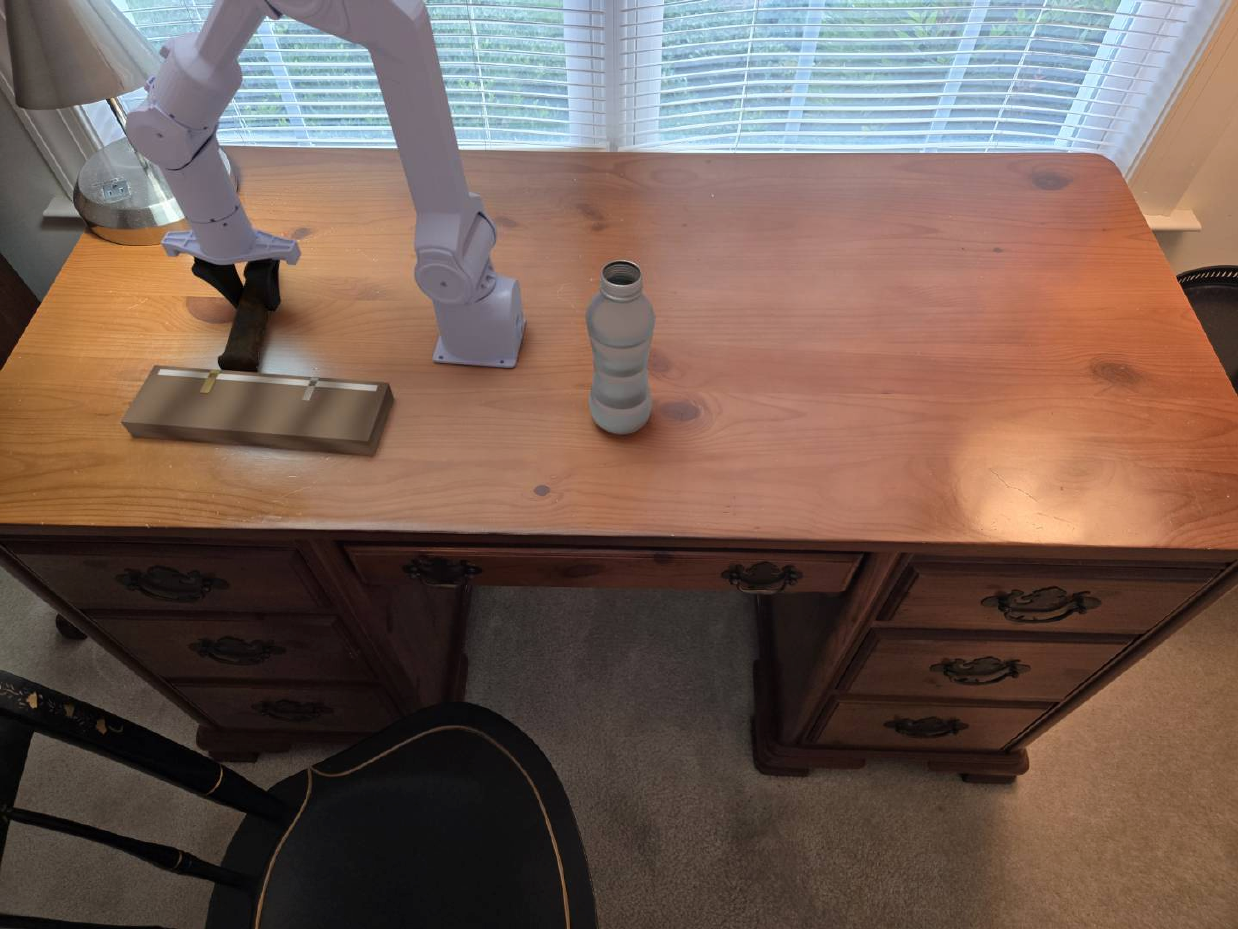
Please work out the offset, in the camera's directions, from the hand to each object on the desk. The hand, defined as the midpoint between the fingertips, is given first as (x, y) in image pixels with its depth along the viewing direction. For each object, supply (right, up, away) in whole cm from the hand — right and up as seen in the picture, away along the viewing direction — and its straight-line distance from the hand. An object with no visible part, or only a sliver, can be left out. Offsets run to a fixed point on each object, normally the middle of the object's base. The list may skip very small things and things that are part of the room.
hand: (258, 304), depth 94 cm
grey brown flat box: (+5, -14, -8) cm, 17 cm away
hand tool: (-1, -2, +1) cm, 2 cm away
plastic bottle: (+43, -14, -8) cm, 46 cm away
